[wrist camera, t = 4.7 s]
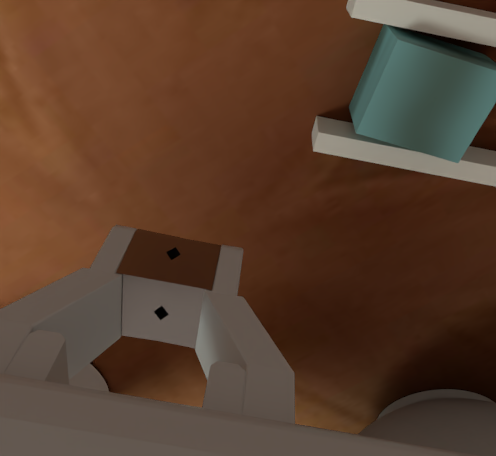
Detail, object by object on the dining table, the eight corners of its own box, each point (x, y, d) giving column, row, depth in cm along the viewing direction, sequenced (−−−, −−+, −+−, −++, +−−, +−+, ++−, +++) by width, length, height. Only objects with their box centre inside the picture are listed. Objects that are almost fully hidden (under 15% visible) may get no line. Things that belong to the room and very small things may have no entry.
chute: (311, 133, 29) (313, 151, 27) (352, -18, 24) (358, -10, 22) (524, 175, 30) (541, 195, 28) (608, 36, 25) (636, 48, 23)
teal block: (348, 106, 28) (355, 133, 25) (384, 21, 25) (397, 39, 22) (439, 133, 29) (457, 163, 25) (484, 53, 26) (512, 76, 22)
